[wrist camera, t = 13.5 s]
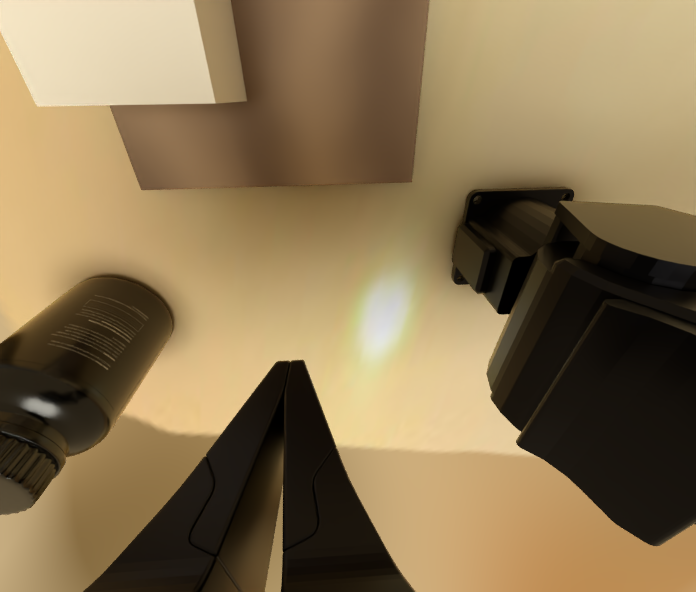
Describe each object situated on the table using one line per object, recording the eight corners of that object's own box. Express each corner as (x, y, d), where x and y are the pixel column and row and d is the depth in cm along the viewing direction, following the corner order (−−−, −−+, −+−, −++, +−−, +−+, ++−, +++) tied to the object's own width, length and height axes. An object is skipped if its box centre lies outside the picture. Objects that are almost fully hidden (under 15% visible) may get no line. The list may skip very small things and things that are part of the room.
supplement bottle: (48, 287, 21) (-209, 464, 11) (138, 262, 20) (-48, 425, 10) (116, 357, 25) (-30, 537, 15) (193, 337, 24) (97, 511, 14)
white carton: (216, -88, 12) (151, -195, 7) (247, 101, 15) (214, 103, 11) (51, -89, 11) (-116, -200, 7) (120, 103, 15) (34, 106, 10)
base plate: (445, -249, 10) (456, -279, 10) (407, 178, 18) (411, 182, 17) (-10, -260, 10) (-41, -294, 9) (150, 185, 18) (141, 190, 17)
